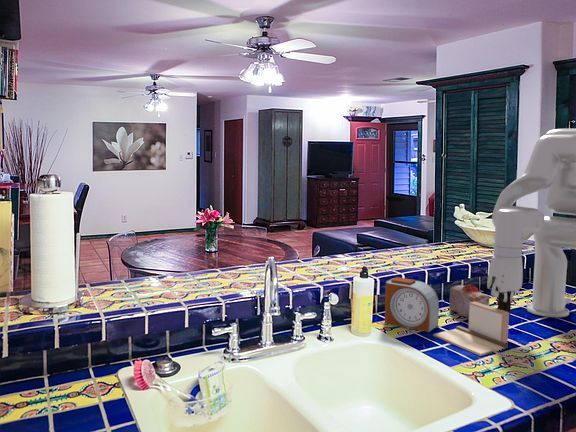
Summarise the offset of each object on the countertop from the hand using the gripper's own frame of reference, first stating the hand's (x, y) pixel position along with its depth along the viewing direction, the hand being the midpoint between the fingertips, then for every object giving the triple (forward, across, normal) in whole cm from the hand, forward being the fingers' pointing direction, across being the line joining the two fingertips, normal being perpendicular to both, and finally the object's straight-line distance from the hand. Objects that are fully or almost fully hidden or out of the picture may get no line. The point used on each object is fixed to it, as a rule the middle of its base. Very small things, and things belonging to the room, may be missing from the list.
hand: (503, 313), depth 158 cm
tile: (+6, +6, 0) cm, 9 cm away
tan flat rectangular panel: (+6, +14, 0) cm, 16 cm away
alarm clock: (+6, +17, -20) cm, 27 cm away
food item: (+6, -5, -17) cm, 19 cm away
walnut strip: (+6, +9, 0) cm, 11 cm away
